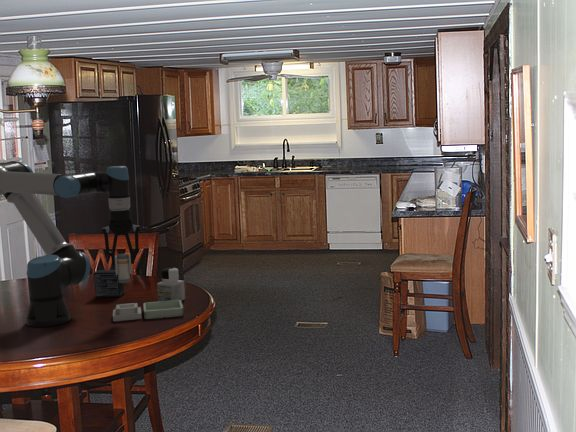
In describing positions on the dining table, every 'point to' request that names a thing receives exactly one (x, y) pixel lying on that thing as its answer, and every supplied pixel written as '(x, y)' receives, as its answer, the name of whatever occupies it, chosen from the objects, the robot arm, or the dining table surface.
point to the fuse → (123, 268)
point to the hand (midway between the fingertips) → (123, 273)
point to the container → (170, 286)
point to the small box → (107, 284)
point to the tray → (163, 309)
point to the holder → (126, 312)
